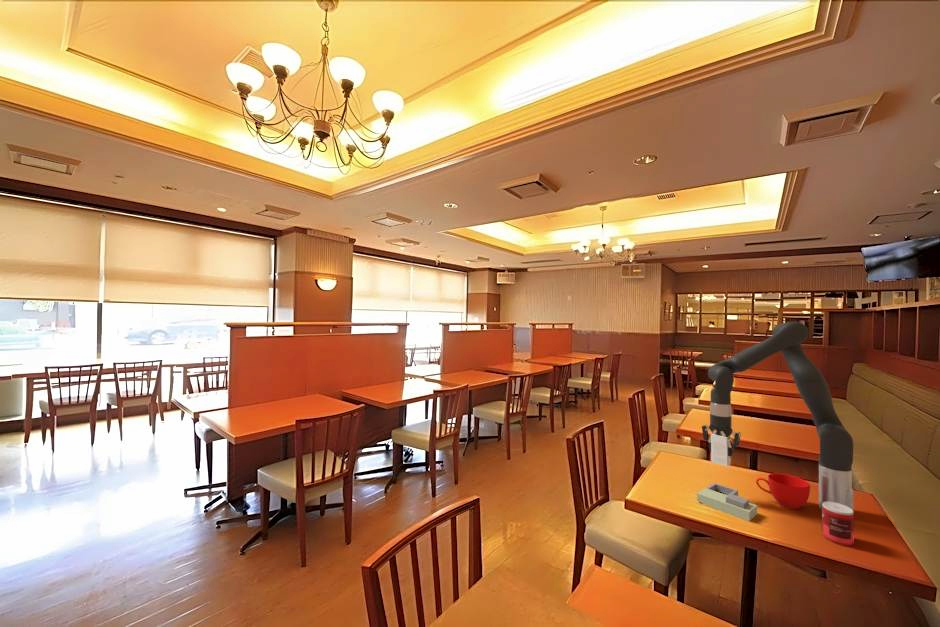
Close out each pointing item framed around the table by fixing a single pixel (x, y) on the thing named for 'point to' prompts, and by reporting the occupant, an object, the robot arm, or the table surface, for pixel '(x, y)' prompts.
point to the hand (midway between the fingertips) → (720, 453)
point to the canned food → (838, 523)
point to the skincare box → (720, 450)
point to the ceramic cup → (787, 489)
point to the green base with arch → (727, 501)
